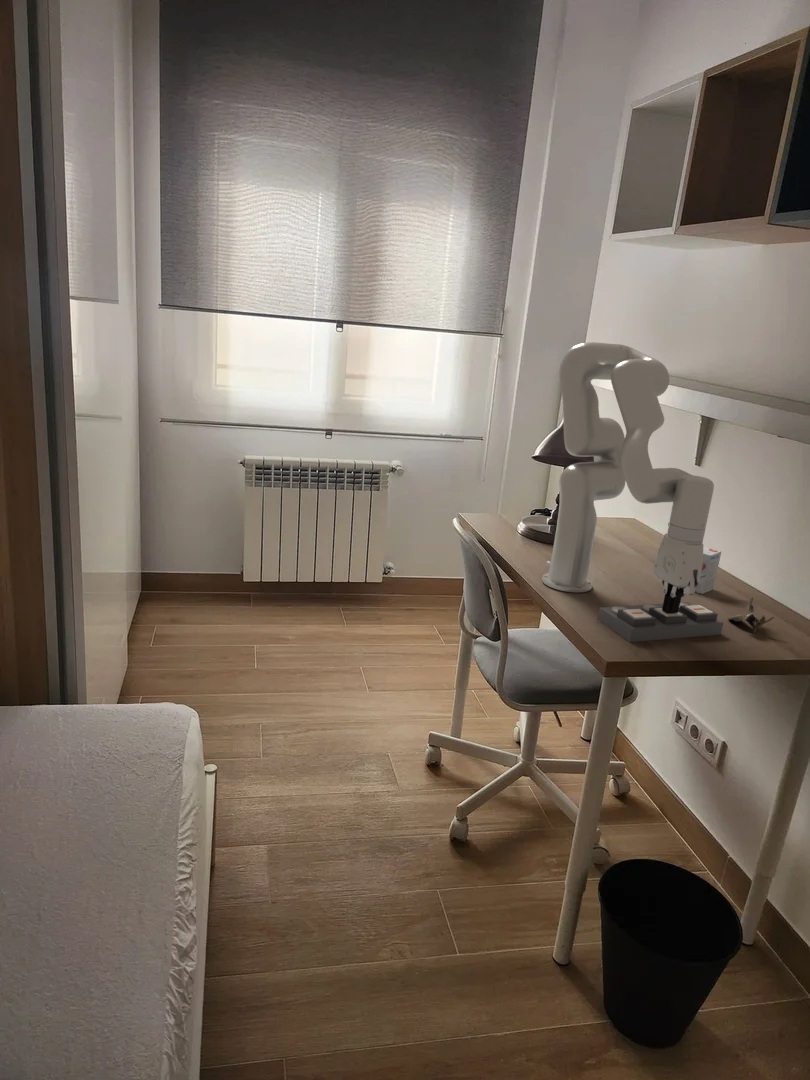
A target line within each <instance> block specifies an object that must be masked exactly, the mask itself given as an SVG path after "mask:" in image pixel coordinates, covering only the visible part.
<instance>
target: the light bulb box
mask: <svg viewBox="0 0 810 1080" xmlns="http://www.w3.org/2000/svg"><path fill="white" fill-rule="evenodd" d="M721 556H722V551H721V550H717V549H713V548H711V547H710V548H709V547H707V546H704V545H703V563H702V570H701V576H700V580H699V583H698V585H697V587H694V593H697V594H700V593H701V595H703V594H706V593H708V592H710V591H712V589H713V590H714V586H715V582H716V577H717V573H718V569H719V565H720V561H721Z"/></svg>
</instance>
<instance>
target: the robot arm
mask: <svg viewBox="0 0 810 1080" xmlns="http://www.w3.org/2000/svg"><path fill="white" fill-rule="evenodd" d="M593 380H600V381H601V380H607V381H610V382H611V385H612V390H613V393H614V396H615V399H616V402H617V405H618V409H619V411H620V414H621V418H622V421H623V424H624V428H625V432H626V434H625V433H624V430H623V428H622V425H620V423H619V422H617V421H616V420H615V419H613V418H610V417H600V410H599V406H600V404H599V398H598V392H597V391H596V389H595V387H594V385H593V384H592V381H593ZM559 385H560V390H561V397H562V418H563V421H562V423H563V441H564V447H565V450H566V451H567V453H568V454H569V455H571V456H574V457H580V458H581V457H589V458H590V457H593V461H584V462H575V463H572V464H570V465H568V466H567V467H565V469H563V471H562V472H561V474H560V476H559V482H558V488H559V490H558V491H559V505H558V506H559V507H558V515H557V521H556V529H555V535H554V541H553V547H552V553H551V560H547V561H545V566H547V567H548V572H545V573H544V574H543V575H542V578H541V579H542V580H541V581H542V583H544V584H545V585H546V586H548V587H549V588H552V589H554V590H558V591H562V592H567V593H576V594H577V593H586V592H589V591H591V590H592V588H593V583H592V581H591V580H590V579H589V578H588V576H589V570H590V564H591V563H590V562H591V557H592V552H593V546H594V540H595V533H596V527H597V521H598V519H597V518H598V515H597V511H596V508H595V503H594V501H602V500H603V501H604V500H605V501H606V500H611V499H614V498H617V497H618V496H620V495H621V494H622V493H623V491H624V488H626V487H625V486H627V488H628V490H629V493H630V494H631V496H632V498H634V499H635V500H636V501H638V503H641V504H659V503H672V506H671V511H670V515H669V522H668V524H667V526H668V527H667V531H666V533H664V535H663V537H662V539H661V542H660V545H659V547H658V550H657V554H656V559H655V561H654V567H653V574H654V575H655V576H656V577H657V579H658V580H659V581H660V582H661V583H662V585H663V589H662V590H663V591H662V592H663V594H664V598H663V602H662V604H663V607H662V611H665V612H666V613H667V614H670V613H678V611H679V606H680V603H681V602H682V601H681V599H682V598H683V597H684V596H685V595H686V596H687V595H688V596H690V595H694V594H695V592H694V587H697V585H698V583H699V580H700V576H701V570H702V563H703V546H704V544H703V542H704V538H705V533H706V529H707V523H708V519H709V514H710V510H711V509H710V508H711V504H712V499H713V494H714V490H715V484H714V482H713V480H711V479H709V478H708V477H704V476H699V475H693V474H690V473H689V472H687V471H686V470H683V469H680V468H677V467H665V468H663V467H660V468H653V465H652V462H651V459H650V454H649V441H650V438H651V437H652V435H653V433H655V431H657V430H659V429H660V428H661V427H662V426H663V425H664V423H665V416H664V413H663V411H662V407H661V404H660V401H659V399H658V397H660V396H662V395H663V394H665V392H666V391H667V389H668V387H669V385H670V373H669V371H668V369H667V367H666V366H665V365H664V364H663V363H662V362H661V361H660V360H658V359H656V358H654V357H651V356H649V355H647V354H645V353H643V352H641V351H639V350H637V349H635V348H633V347H631V346H628V345H625V344H617V343H605V342H596V341H595V342H594V341H592V342H591V341H590V342H581V343H578V344H576V345H573V346H572V347H571V348H569V350H567V351H566V352H565V354H564V355H563V358H562V360H561V363H560V366H559Z"/></svg>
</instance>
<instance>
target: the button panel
mask: <svg viewBox="0 0 810 1080" xmlns="http://www.w3.org/2000/svg"><path fill="white" fill-rule="evenodd" d="M690 605H693V603H690V602H689V601H685V602H680V606H679V611H678V612H679V613H681V614H682V615H683V616H673V617H666V616H664V615H663V614H661V613H659V612H658V611H656V610H654V608H662V607H663V603H656V604H655V603H654V604H653V603H652V604H651V603H650V604H638V605H636V604H635V605H634V604H633V605H623V606H605V607H599V610H598V615H597V621H598V620H600V621H601V622H602V623H601V622H600V621H599V622H600V623H601V624H603V623H604V624H605V625H604V624H603V625H604V626H606V625H607V626H608V627H609V629H610V628H611V629H612V630H611V629H610V630H611V631H613V633H616V635H618V636H620V637H621V638H622V639H624V640H626V641H627V642H629V643H635V642H637V643H638V642H645V641H658V640H659V641H660V640H661V641H662V640H671V639H685V638H695V637H707V636H720V635H722V630H723V627H724V622H723V621H722V620H721V619H718V615H719V614H718V613H717V612H715V611H714V610H712V609H710V608H708V607H706V606H704V605H702V604H697V605H701V606H703V607H705V608H707V609H708V610H710V611H712V612H713V614H702V615H697V614H695V613H694V612H692V611H690V610H688V609H687V608H685V606H690ZM628 609H641V610H642V611H644V612H645V613H647V614H648V615H650V616H652V618H645V619H634V618H632V617H631V616H629V615H627V614H626V613H624V612H623V610H628ZM607 626H606V627H607ZM608 627H607V628H608Z"/></svg>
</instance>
